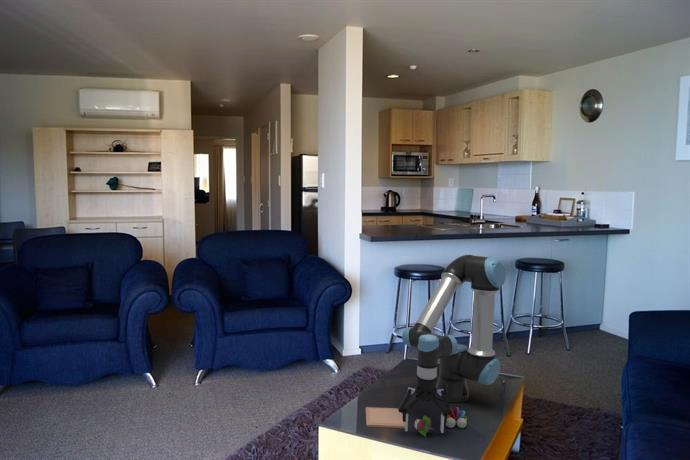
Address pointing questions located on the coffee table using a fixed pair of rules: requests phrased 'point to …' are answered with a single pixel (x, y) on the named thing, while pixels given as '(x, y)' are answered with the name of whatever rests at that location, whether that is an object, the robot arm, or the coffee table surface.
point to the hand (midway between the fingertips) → (423, 430)
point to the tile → (384, 417)
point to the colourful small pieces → (456, 418)
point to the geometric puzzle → (423, 425)
